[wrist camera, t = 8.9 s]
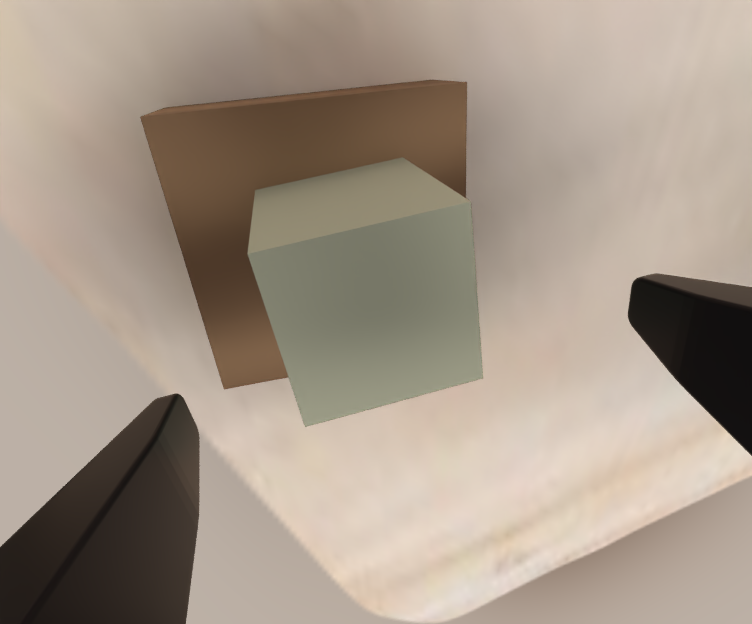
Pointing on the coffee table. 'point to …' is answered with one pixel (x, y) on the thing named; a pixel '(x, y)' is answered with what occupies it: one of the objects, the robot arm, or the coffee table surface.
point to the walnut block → (279, 166)
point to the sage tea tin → (368, 286)
